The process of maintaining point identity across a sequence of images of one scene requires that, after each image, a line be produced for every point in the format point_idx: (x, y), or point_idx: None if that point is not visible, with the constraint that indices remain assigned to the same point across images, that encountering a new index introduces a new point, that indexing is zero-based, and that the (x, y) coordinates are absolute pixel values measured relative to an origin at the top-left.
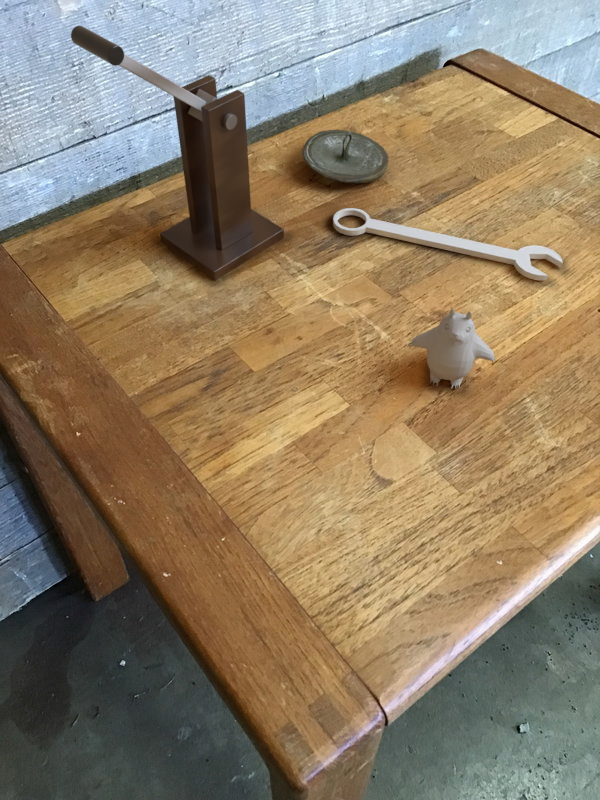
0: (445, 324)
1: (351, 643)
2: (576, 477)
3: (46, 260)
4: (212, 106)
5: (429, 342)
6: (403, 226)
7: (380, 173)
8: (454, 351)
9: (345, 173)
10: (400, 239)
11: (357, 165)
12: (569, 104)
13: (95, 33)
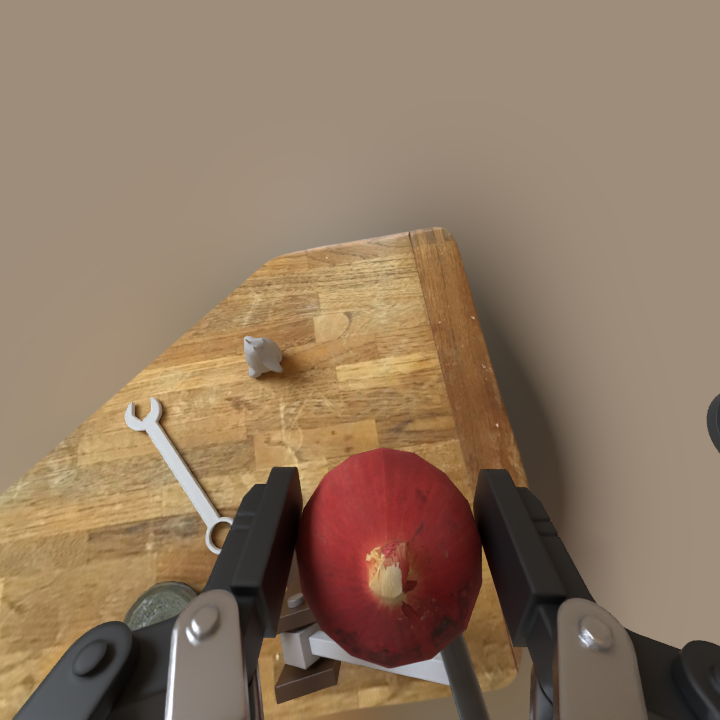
0: (261, 350)
1: (407, 255)
2: (262, 275)
3: (485, 639)
4: (311, 611)
5: (274, 357)
6: (193, 502)
7: (155, 585)
8: (267, 340)
9: (184, 600)
10: (204, 492)
11: (162, 613)
12: None
13: (459, 693)
